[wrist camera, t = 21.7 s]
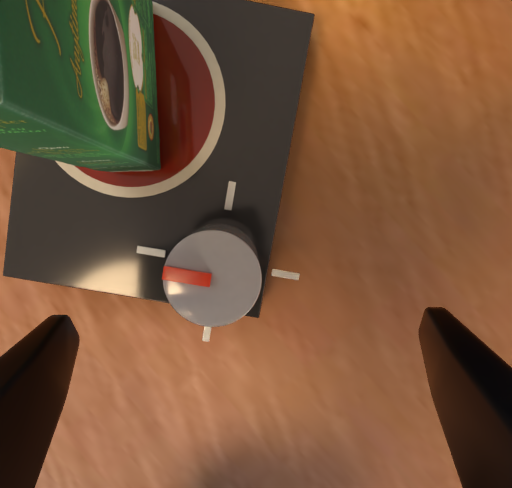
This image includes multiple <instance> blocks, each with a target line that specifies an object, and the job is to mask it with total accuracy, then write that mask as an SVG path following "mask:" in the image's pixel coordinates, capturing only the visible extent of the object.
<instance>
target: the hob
mask: <svg viewBox="0 0 512 488" xmlns="http://www.w3.org/2000/svg"><path fill="white" fill-rule="evenodd" d="M152 2H156V3H158V4H160V5H163V6H165V7H167V8H169V9H171V10H173V11H174V12H176V13H178V14H179V15H181V16H182V17H183V18H185V19H186V20H187V21H188V22H190V23H191V24H192V25H193V26H194V27H195V28H196V29H197V30H198V31H199V32H200V34H201V35H202V36H203V38H204V39H205V40H206V42H207V43H208V45H209V46H210V48H211V50H212V51H213V53H214V55H215V57H216V60H217V62H218V64H219V67H220V70H221V74H222V77H223V82H224V88H225V103H226V106H225V117H224V122H223V126H222V131H221V133H220V136H219V139H218V142H217V144H216V146H215V148H214V149H213V151H212V153H211V155H210V156H209V158H208V159H207V160H206V162H205V163H204V164H203V166H202V167H201V168H200V169H199V170H198V171H197V172H196V173H195V174H194V175H192V176H191V177H190V178H189V179H188V180H186V181H185V182H183V183H182V184H180V185H178V186H177V187H175V188H173V189H170V190H168V191H166V192H163V193H160V194H156V195H153V196H146V197H134V198H127V197H118V196H112V195H108V194H104V193H101V192H99V191H96V190H93V189H91V188H89V187H87V186H85V185H83V184H82V183H80V182H78V181H77V180H76V179H74V178H73V177H71V176H70V175H69V174H68V173H67V172H66V171H64V170H63V169H62V168H61V167H60V166H59V165H58V163H57V162H56V161H55V160H51V159H46V158H42V157H37V156H33V155H29V154H25V153H21V152H17V151H16V159H15V168H14V178H13V187H12V196H11V206H10V215H9V224H8V234H7V243H6V252H5V262H4V271H3V276H7V277H13V278H19V279H25V280H31V281H37V282H44V283H50V284H56V285H62V286H68V287H74V288H80V289H86V290H92V291H98V292H104V293H110V294H116V295H122V296H129V297H135V298H141V299H147V300H153V301H159V302H165V303H170V302H169V301H168V298H167V296H166V294H165V291H164V286H163V280H162V274H163V267H164V266H165V263H166V260H167V258H168V256H169V254H170V252H171V251H172V249H173V248H174V247H175V246H176V245H177V244H178V243H179V242H180V241H181V240H182V239H184V238H185V237H187V236H188V235H190V234H191V233H192V232H194V231H195V230H197V229H199V228H200V227H203V226H205V225H209V224H214V223H222V224H228V225H232V226H234V227H236V228H238V229H240V230H241V231H243V232H244V233H245V234H246V235H247V236H248V237H249V238H250V239H251V240H252V242H253V244H254V245H255V248H256V250H257V253H258V258H259V263H260V268H261V274H262V283H261V289H260V293H259V296H258V298H257V300H256V302H255V304H254V306H253V307H252V308H251V310H250V311H249V312H248V313H247V314H246V315H244V316H250V317H256V318H259V315H260V310H261V305H262V299H263V294H264V288H265V283H266V277H267V272H268V266H269V261H270V255H271V250H272V245H273V239H274V234H275V228H276V223H277V217H278V212H279V206H280V201H281V196H282V190H283V185H284V179H285V174H286V168H287V163H288V157H289V152H290V146H291V141H292V136H293V130H294V125H295V119H296V114H297V108H298V103H299V97H300V92H301V87H302V81H303V76H304V70H305V65H306V59H307V54H308V48H309V43H310V37H311V32H312V27H313V21H314V16H315V15H314V14H312V13H307V12H302V11H297V10H292V9H287V8H282V7H277V6H272V5H267V4H262V3H257V2H252V1H247V0H152ZM299 275H300V273H296V272H291V271H285V270H279V269H273V268H272V273H271V276H276V277H282V278H287V279H293V280H299ZM211 328H212V327H207V326H204V332H203V338H202V341H207V342H209V340H210V334H211Z"/></svg>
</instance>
